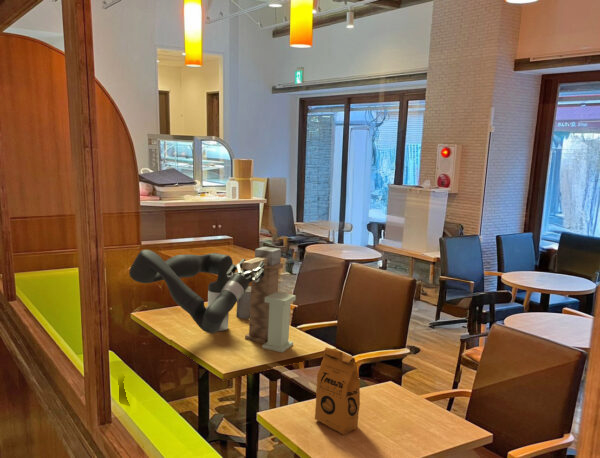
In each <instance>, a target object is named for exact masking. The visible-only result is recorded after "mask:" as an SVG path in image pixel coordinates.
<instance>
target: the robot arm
mask: <svg viewBox="0 0 600 458" xmlns="http://www.w3.org/2000/svg"><path fill="white" fill-rule="evenodd" d="M244 261H247V260H246V258H242V259H241V260H240V261H239V262H238V263H237V264H234V263H233V259H232V257H231V256H230V255H229V254H228V255H227V254H222V253H218V252H216V253H215V252H212V253H207V254H201V255H200V254H199V255H198V254H197V255H196V254H189V253H188V254H177V255H174V256H172V257H169V258H168V259H166V260H164V259H163V257H161V256H160V255H159V254H157V253H156V252H154V251H152V250H151V249H141V250H140V251H139V252H138V254H137V255H136V257H135V259H134V260H133V263H132V264H131V266H130V269H129V273H128V274H129V277H130V278H131V279H132V280H134V281H135V282H137V283H140V284H150V283H151V284H152V283H155V282H160V281H164V282H165V283H166V287H167V288H168V290H169V293H170V296H171V298H172V299H173V301H174V302H175V303H176V304H177V305H178V306H179V307H180V308H181V309H183V311H185V313H188V314H189V315H190V317H191V319H192V320H193V321H194V322H195V324H196V325H197V326H198V327H199V328H200V329H201V330H202V331H203V332H205V333H208V334H216V333H217V332H222V331H223V332H224V331H227V330H228V328H229V313H230V311H232V309H233V308H234V307H235V305H237V301H238V300H239V299H240V298H241V296H242V295H243V293H244V292H245V291H246V289H247V288H248V286H250V284H251V282H252V281H255V282H256V283H259V282H260V280H261V279H262V278H263V276H264V275H265V273H264V269H263V268H264V267H265V265H264V262H263V261H262V262H261V263H260V264H259V266H258V268H256V269H251V270H245V269H243V270H242V262H244ZM256 271H258V272H256ZM252 272H253V275H252ZM199 273H206V274H212V275H215V276H217V279H216V281H211V282H209V283H208V286H207V287H208V290H207V291H208V292H207V305H206V306H205V300H204V299H203V297H201V295H199V294H197V293H196V292H195V291H193V290H192V288H190V287H189V286H188V285H187V284H186V283H184V281H183V280H182V279H183V278H185V279H186V278H191V277H195V276H197V275H198V274H199Z"/></svg>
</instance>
